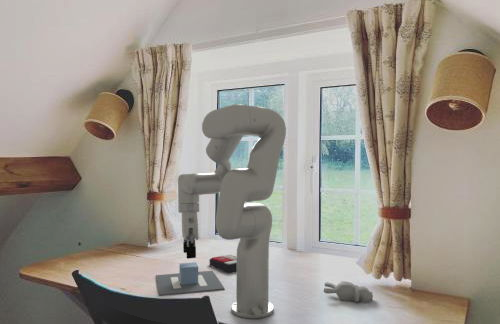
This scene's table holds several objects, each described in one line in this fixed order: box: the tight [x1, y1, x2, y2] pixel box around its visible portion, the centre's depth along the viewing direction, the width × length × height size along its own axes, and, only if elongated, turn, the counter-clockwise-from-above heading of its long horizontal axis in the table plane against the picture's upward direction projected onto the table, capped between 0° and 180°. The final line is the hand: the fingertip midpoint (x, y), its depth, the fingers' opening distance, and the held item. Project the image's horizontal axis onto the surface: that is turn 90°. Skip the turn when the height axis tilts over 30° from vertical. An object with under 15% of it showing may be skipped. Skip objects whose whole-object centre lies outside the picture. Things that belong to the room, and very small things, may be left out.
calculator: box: [209, 254, 237, 274], centre depth 158 cm, size 11×4×15 cm
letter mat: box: [155, 270, 225, 297], centre depth 137 cm, size 22×22×1 cm
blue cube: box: [179, 262, 199, 285], centre depth 136 cm, size 6×6×6 cm
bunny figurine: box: [323, 281, 374, 304], centre depth 121 cm, size 10×5×15 cm
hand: (189, 255), depth 136 cm, fingers open, 9 cm apart
